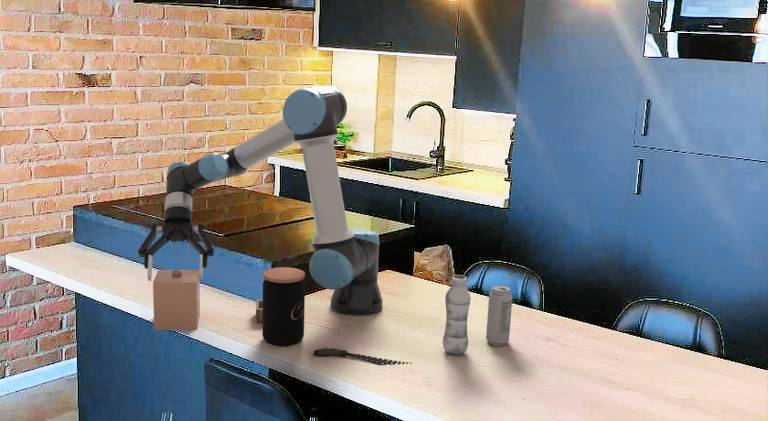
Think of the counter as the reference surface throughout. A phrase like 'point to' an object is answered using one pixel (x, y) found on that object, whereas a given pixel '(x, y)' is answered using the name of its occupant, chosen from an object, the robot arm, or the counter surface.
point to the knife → (353, 356)
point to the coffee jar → (283, 306)
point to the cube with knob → (176, 299)
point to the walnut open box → (259, 311)
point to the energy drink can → (499, 315)
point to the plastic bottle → (456, 316)
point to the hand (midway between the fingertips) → (175, 278)
